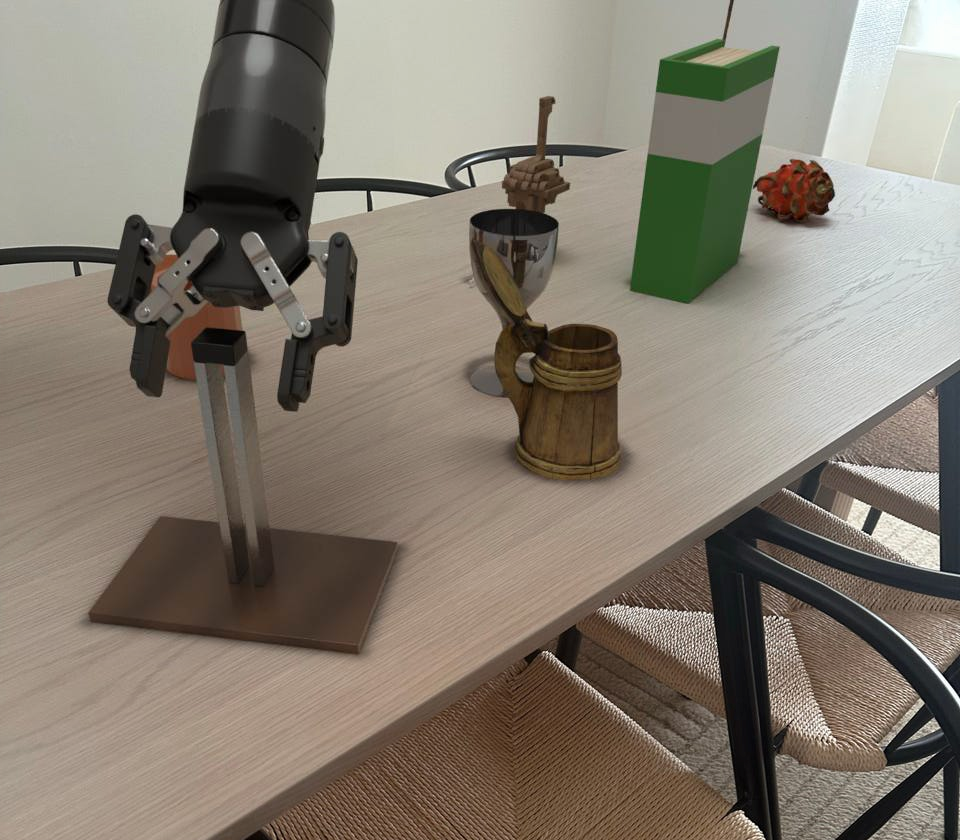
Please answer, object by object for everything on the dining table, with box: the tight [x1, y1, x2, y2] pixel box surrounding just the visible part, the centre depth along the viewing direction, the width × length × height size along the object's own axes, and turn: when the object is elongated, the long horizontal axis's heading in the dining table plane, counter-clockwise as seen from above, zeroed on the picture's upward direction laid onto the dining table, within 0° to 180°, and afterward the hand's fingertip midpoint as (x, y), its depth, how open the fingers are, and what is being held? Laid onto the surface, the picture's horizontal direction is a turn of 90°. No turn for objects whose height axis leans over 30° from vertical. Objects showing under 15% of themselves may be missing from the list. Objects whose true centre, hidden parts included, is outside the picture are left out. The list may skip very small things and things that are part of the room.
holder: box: [151, 268, 244, 381], centre depth 94 cm, size 8×8×9 cm
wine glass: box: [468, 208, 560, 398], centre depth 92 cm, size 8×8×15 cm
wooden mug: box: [468, 239, 623, 481], centre depth 79 cm, size 9×14×18 cm, turn 81°
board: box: [87, 515, 398, 655], centre depth 68 cm, size 18×12×2 cm, turn 82°
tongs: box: [191, 327, 274, 587], centre depth 63 cm, size 2×2×17 cm
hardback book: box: [629, 38, 781, 304], centre depth 115 cm, size 18×7×24 cm, turn 150°
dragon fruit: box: [752, 158, 836, 223], centre depth 140 cm, size 8×8×12 cm
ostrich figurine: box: [467, 95, 571, 287], centre depth 116 cm, size 17×7×18 cm, turn 145°
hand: (217, 400), depth 58 cm, fingers open, 8 cm apart
